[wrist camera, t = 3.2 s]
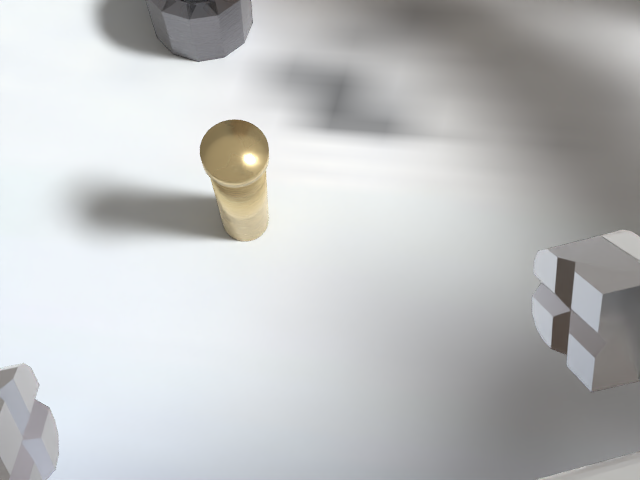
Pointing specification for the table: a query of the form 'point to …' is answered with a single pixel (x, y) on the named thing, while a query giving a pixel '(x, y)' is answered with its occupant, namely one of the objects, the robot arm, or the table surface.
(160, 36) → the grey hollow ring
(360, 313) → the table surface
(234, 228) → the hinge pin
